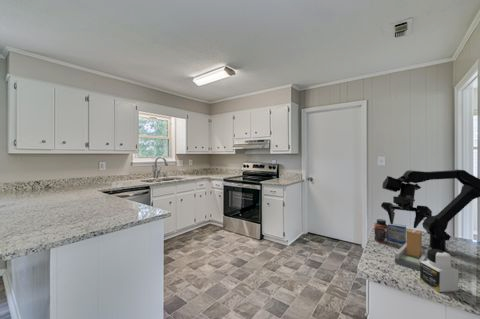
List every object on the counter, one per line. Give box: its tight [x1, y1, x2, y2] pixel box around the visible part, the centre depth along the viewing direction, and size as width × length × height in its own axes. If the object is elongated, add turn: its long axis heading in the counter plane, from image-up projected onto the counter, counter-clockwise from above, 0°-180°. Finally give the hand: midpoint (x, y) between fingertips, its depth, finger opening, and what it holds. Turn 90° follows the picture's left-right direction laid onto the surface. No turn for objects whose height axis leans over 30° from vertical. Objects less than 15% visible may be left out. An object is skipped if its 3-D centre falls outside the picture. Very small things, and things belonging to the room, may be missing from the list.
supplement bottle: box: [374, 218, 389, 244], centre depth 114 cm, size 6×6×11 cm
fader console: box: [394, 241, 432, 271], centre depth 94 cm, size 19×9×4 cm, turn 130°
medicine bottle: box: [419, 249, 459, 293], centre depth 75 cm, size 7×7×12 cm
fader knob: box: [406, 228, 423, 257], centre depth 94 cm, size 4×4×10 cm
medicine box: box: [387, 222, 407, 245], centre depth 115 cm, size 8×4×9 cm, turn 55°
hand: (402, 226), depth 102 cm, fingers open, 9 cm apart
